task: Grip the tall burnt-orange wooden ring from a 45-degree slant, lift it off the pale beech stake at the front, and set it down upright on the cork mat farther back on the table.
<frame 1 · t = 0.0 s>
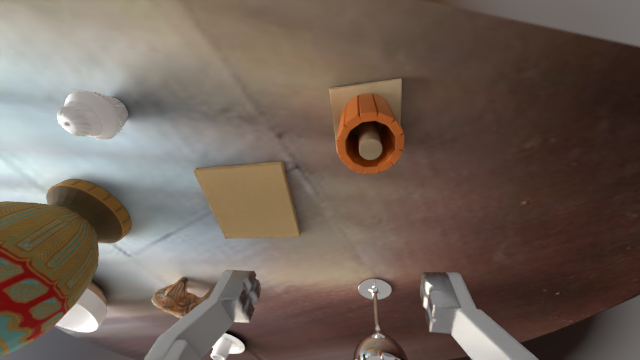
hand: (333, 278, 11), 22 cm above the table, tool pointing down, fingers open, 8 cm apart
orange ring: (366, 119, 28), point 1 cm above the table, touching stake
figurine: (202, 289, 54), on the table
cork mat: (252, 202, 38), on the table
bowl: (83, 286, 60), on the table
vase: (96, 209, 44), on the table
muffin: (118, 108, 33), on the table
stake: (365, 117, 29), on the table
wineglass: (374, 287, 46), on the table
candle holder: (225, 339, 66), on the table
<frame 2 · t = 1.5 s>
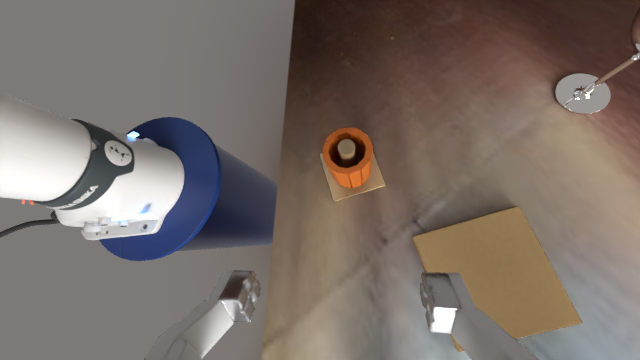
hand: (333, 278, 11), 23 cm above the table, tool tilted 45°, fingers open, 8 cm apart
orange ring: (350, 168, 36), point 1 cm above the table, touching stake
cork mat: (486, 274, 30), on the table
stake: (351, 170, 37), on the table
wineglass: (579, 95, 33), on the table
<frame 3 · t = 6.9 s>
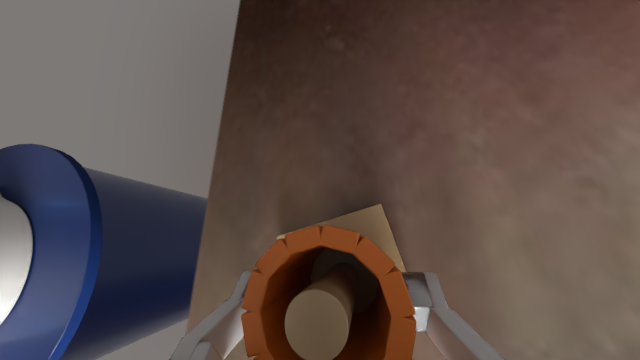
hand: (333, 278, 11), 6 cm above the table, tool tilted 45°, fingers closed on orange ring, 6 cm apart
orange ring: (344, 277, 16), point 1 cm above the table, touching gripper, stake
stake: (345, 275, 17), on the table
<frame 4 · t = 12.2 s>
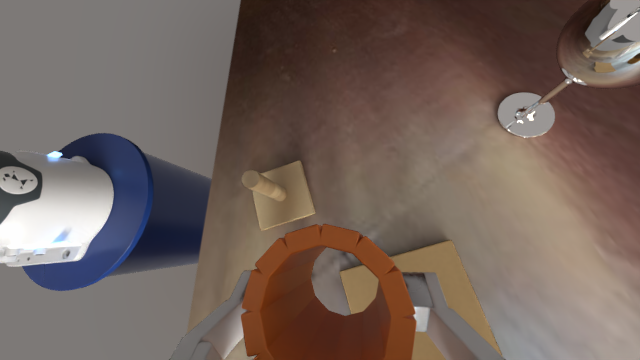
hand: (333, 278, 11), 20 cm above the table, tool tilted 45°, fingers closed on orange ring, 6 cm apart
orange ring: (344, 277, 16), point 15 cm above the table, touching gripper
cork mat: (414, 316, 27), on the table
stake: (282, 195, 34), on the table
wineglass: (523, 116, 30), on the table
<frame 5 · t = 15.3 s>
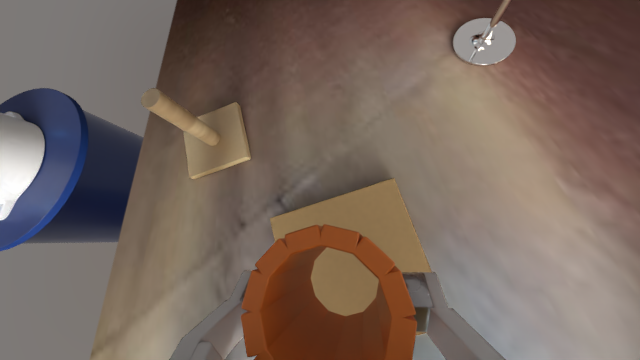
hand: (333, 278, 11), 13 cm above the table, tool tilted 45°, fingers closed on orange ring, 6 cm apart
orange ring: (344, 277, 16), point 9 cm above the table, touching gripper
cork mat: (351, 264, 24), on the table
stake: (217, 141, 30), on the table
wineglass: (481, 44, 27), on the table
when the fingers open (5 cm above the table, at t = 18.0 s): orange ring stays where it is, resting on cork mat.
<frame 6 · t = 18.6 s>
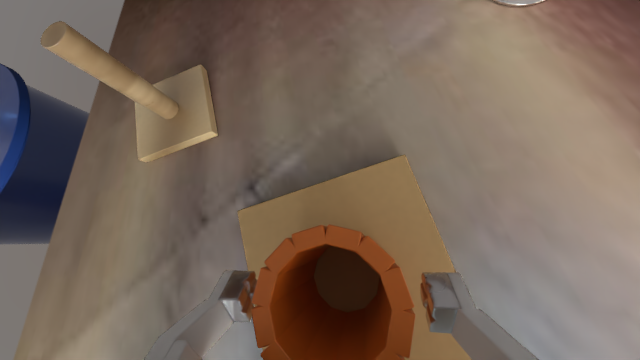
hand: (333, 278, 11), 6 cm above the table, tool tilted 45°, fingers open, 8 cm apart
orange ring: (346, 275, 16), point 1 cm above the table, touching cork mat
cork mat: (346, 274, 17), on the table
stake: (177, 115, 24), on the table
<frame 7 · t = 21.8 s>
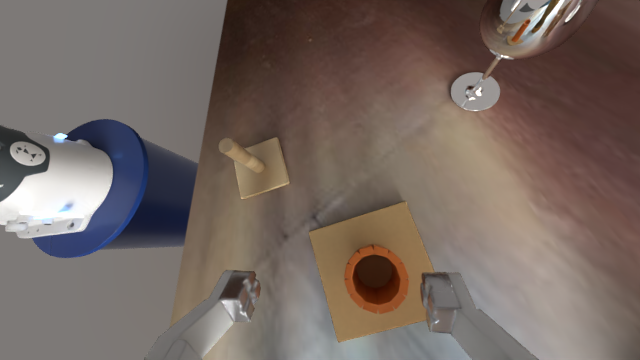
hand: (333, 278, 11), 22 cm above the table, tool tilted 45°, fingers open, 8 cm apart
orange ring: (373, 268, 30), point 1 cm above the table, touching cork mat
cork mat: (373, 268, 31), on the table
stake: (261, 168, 38), on the table
wineglass: (473, 93, 34), on the table
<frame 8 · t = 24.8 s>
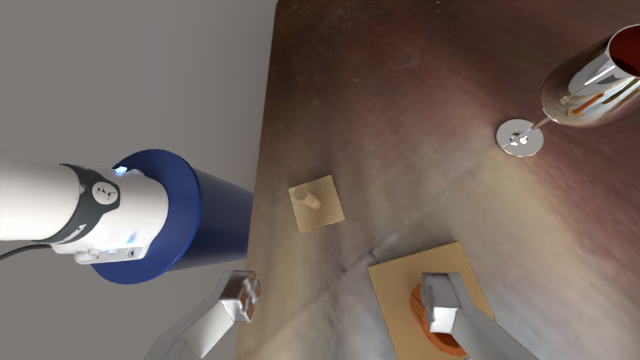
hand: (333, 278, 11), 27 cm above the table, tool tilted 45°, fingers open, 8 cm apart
orange ring: (432, 304, 33), point 1 cm above the table, touching cork mat
cork mat: (429, 302, 34), on the table
stake: (316, 204, 41), on the table
wineglass: (517, 138, 37), on the table
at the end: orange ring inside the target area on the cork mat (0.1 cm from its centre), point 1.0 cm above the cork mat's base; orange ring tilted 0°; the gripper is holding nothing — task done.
